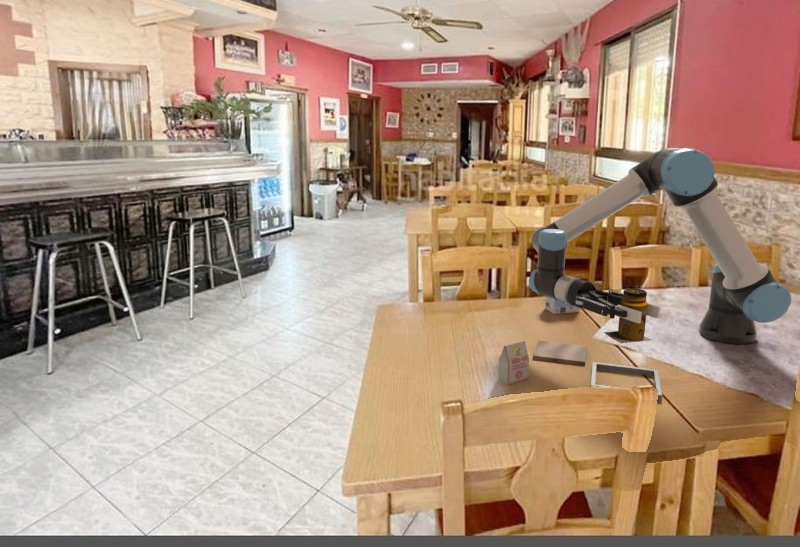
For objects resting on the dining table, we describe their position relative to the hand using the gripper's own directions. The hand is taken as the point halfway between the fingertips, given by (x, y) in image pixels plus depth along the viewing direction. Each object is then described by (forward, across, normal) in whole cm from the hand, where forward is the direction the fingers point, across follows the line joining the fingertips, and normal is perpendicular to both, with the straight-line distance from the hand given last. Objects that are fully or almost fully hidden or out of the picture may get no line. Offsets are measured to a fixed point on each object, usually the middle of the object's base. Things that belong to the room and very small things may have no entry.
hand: (649, 315), depth 128 cm
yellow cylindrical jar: (-5, +1, -7) cm, 9 cm away
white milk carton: (-21, +23, -20) cm, 37 cm away
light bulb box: (-56, -29, -20) cm, 66 cm away
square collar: (-5, 0, -20) cm, 20 cm away
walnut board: (-27, 0, -20) cm, 33 cm away
